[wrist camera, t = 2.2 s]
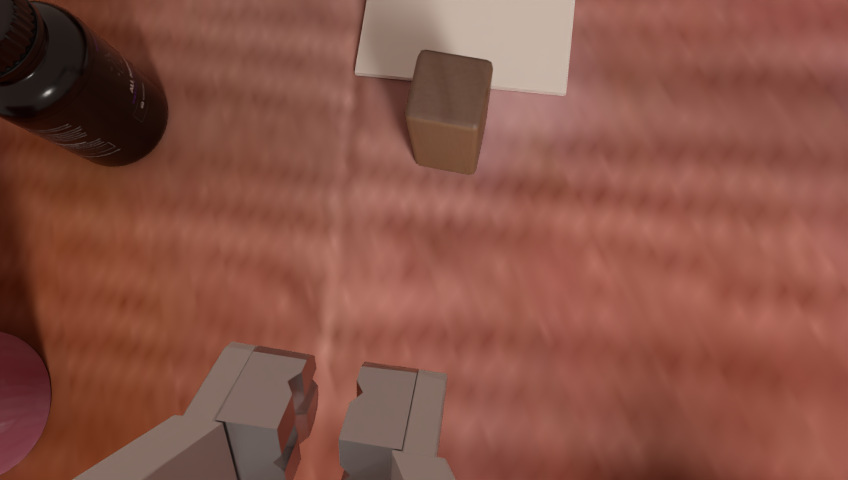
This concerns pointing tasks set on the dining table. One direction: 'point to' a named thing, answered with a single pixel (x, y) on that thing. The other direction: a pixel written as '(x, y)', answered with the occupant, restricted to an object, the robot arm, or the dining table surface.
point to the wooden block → (448, 110)
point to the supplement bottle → (75, 86)
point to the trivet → (472, 39)
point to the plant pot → (21, 399)
